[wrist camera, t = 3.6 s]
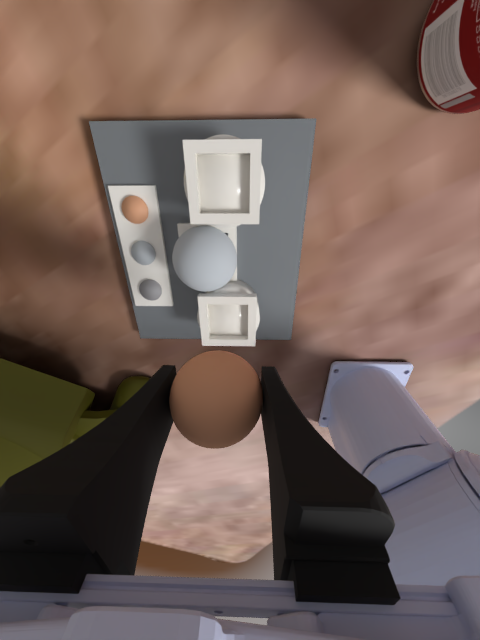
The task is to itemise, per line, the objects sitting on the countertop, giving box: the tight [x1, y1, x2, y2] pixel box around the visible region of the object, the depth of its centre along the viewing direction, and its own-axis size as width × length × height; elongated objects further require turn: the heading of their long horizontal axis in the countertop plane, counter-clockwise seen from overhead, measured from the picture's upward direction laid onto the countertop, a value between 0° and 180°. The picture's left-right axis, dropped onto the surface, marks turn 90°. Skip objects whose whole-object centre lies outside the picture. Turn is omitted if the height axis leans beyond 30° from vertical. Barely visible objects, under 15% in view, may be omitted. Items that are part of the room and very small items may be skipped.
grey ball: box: [172, 225, 237, 292], centre depth 17 cm, size 4×4×4 cm
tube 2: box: [197, 279, 260, 346], centre depth 20 cm, size 5×5×3 cm
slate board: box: [89, 119, 316, 340], centre depth 19 cm, size 16×14×2 cm
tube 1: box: [182, 134, 265, 228], centre depth 15 cm, size 5×5×3 cm
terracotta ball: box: [169, 350, 263, 448], centre depth 12 cm, size 4×4×4 cm
